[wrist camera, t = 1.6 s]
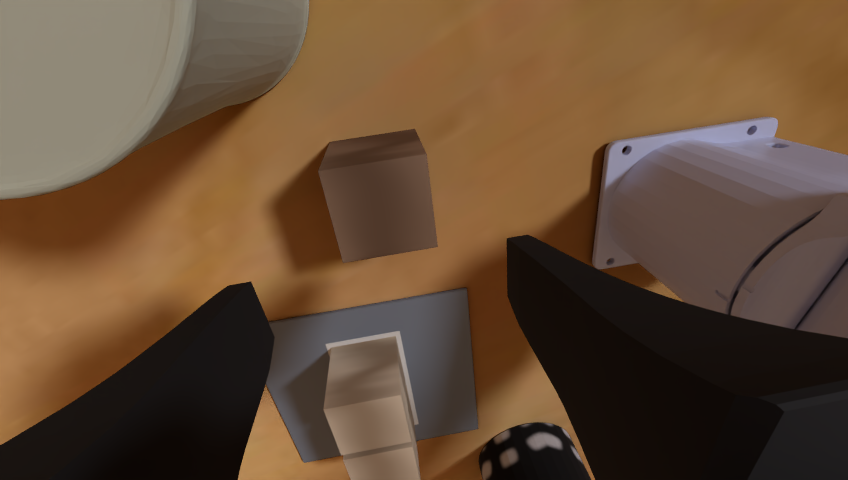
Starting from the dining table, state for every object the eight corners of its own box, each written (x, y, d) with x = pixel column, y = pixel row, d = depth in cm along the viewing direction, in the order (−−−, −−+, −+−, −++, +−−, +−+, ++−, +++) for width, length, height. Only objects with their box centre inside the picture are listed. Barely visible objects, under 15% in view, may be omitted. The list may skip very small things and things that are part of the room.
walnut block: (414, 128, 18) (426, 153, 14) (424, 205, 20) (437, 247, 16) (330, 141, 18) (318, 170, 14) (348, 218, 20) (343, 262, 16)
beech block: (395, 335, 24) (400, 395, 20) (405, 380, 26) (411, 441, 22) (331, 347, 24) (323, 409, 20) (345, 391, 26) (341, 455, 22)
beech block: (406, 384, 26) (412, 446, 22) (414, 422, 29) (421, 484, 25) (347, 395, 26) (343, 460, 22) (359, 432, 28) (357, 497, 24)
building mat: (466, 287, 23) (466, 289, 23) (477, 426, 30) (478, 429, 30) (240, 326, 23) (239, 329, 22) (304, 460, 29) (303, 462, 29)
